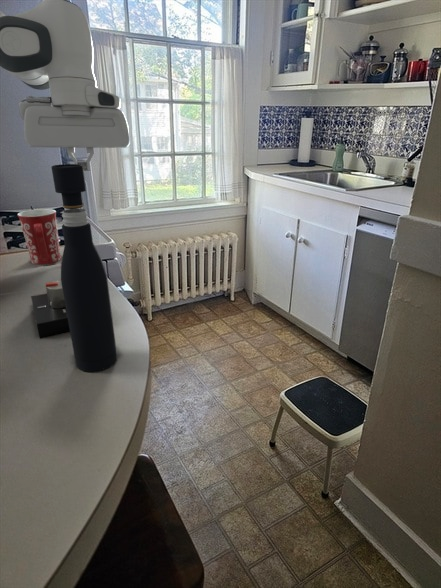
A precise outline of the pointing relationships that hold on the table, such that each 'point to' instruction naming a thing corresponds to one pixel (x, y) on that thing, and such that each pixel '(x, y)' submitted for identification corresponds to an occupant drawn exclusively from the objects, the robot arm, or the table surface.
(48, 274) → the table surface
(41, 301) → the panel
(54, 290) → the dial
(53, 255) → the mug
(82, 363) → the black bottle
